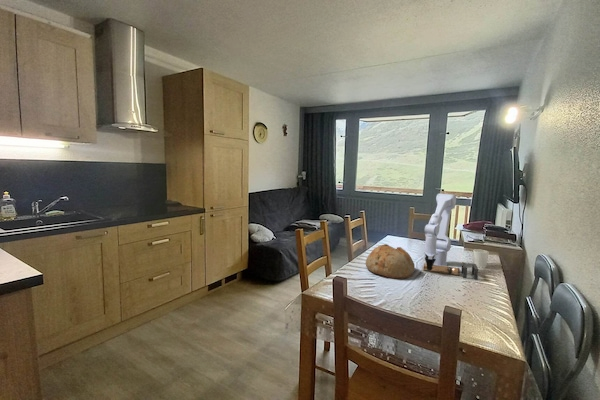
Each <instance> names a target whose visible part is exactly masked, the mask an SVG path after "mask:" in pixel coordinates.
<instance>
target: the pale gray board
mask: <svg viewBox="0 0 600 400" xmlns="http://www.w3.org/2000/svg"><path fill="white" fill-rule="evenodd" d="M422 273H424V274H430V275H437V276H442V277H447V278H448V277H450V278H456V279H462V280H468V281H475V282H482V279H481V278H480V276H479V274H478V278H477V280H474V275H472V272H467V278H463V273H461V271H460V274H459V275H452V274H445V273H438V272H431V271H425V270H424V265H422V266H421V274H422Z"/></svg>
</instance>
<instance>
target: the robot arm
mask: <svg viewBox="0 0 600 400" xmlns="http://www.w3.org/2000/svg"><path fill="white" fill-rule="evenodd" d="M435 197H436V198H435V200H436V204H437V205H436V208H435V212H434V213H433V214H432V215H431V217H430V219H429V221H428V224H427V223H426V224H425V226H424V236H425V244H424V245H425V246H424V260H425V264H427V270H432V267H433V265H439V266H447V267H448V265H447V258H448V257H447V256H448V255H447V254H448V252H450V251H451V247H452V244H451V243H452V241H451V238H450V237H449V236H448V230H449V224H450V219H451V215H452V214H451V213H452V210H454V209H455V207H456V204H457V196H456V194H455V193H454V194H453V193H452V194H451V193H440V192H439V193H437V194H436V196H435Z"/></svg>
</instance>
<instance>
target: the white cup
mask: <svg viewBox="0 0 600 400" xmlns="http://www.w3.org/2000/svg"><path fill="white" fill-rule="evenodd" d="M489 254H490V252H489V251H488V250H487V249H486V250H485V249H481V248H474V249H473V250H472V263H473V264H476V266H477V268H478V269H480V268H481V269H485V268H487V264H488V259H489Z"/></svg>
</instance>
